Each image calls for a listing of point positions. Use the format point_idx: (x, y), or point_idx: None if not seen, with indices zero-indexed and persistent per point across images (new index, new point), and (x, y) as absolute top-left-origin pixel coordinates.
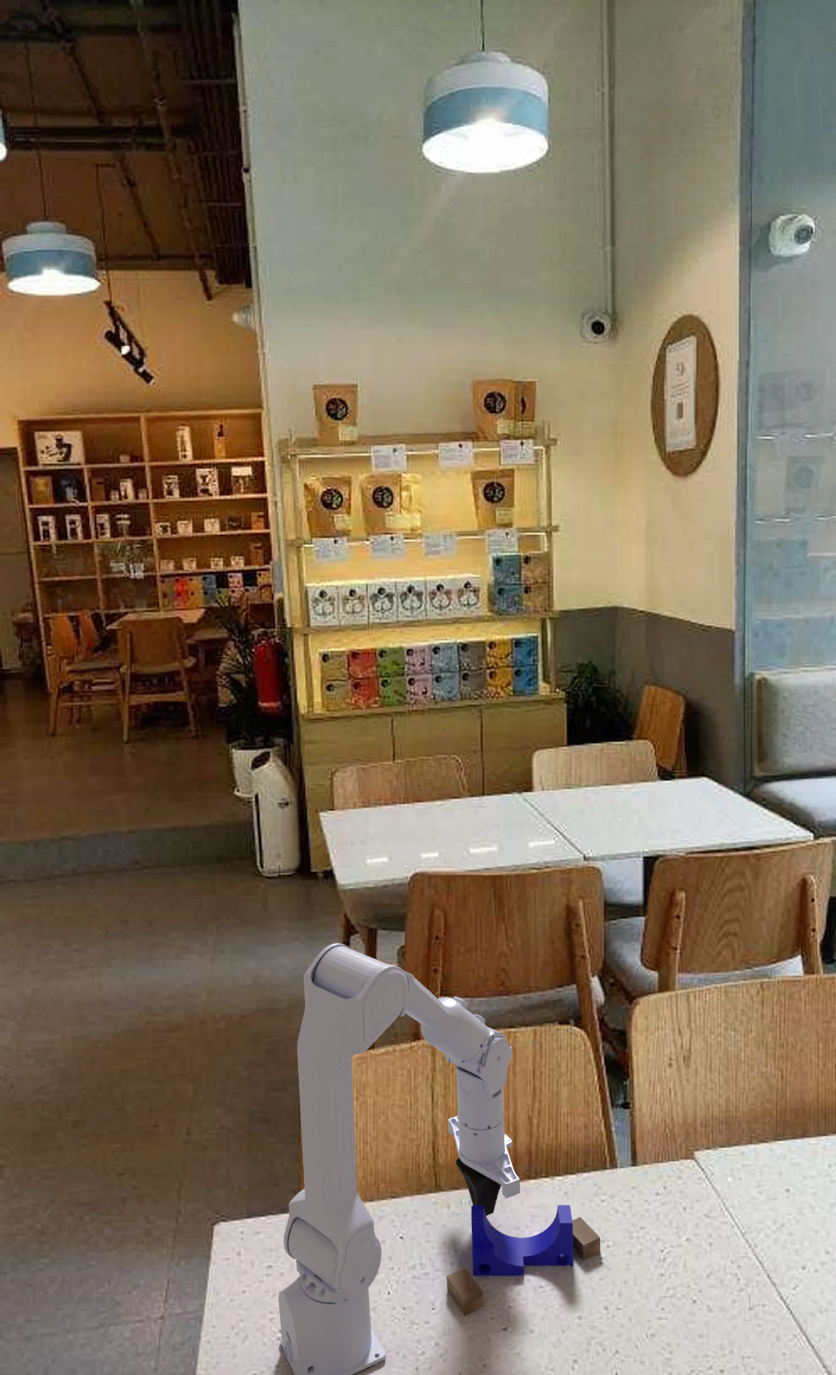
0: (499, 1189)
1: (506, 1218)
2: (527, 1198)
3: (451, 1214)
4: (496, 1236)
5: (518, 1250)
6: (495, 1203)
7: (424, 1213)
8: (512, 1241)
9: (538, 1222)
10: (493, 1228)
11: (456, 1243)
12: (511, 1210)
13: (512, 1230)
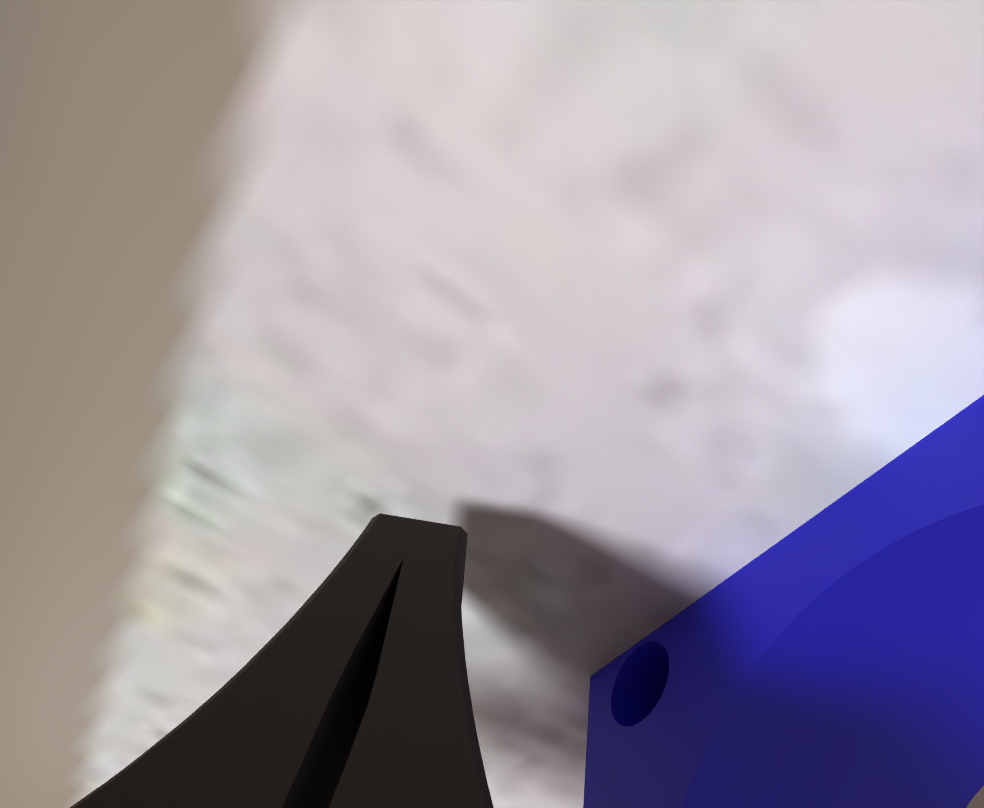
0: (479, 750)
1: (512, 388)
2: (399, 54)
3: (267, 607)
4: (775, 768)
5: (945, 646)
6: (459, 589)
7: (193, 684)
8: (844, 632)
9: (756, 202)
10: (716, 777)
11: (502, 708)
12: (456, 298)
13: (655, 436)
